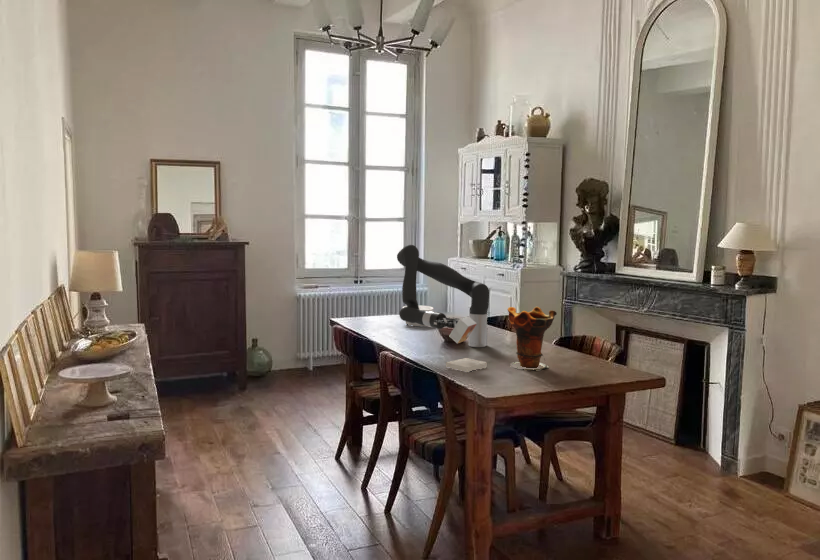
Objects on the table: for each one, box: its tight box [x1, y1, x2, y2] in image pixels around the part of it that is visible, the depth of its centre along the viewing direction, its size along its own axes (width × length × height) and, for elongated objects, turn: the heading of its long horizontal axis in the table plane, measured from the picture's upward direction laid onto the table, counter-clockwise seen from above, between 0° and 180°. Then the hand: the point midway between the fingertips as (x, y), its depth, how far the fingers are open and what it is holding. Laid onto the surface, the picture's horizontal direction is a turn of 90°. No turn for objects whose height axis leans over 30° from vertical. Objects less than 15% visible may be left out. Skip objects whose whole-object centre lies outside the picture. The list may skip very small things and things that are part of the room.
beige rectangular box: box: [445, 357, 488, 373], centre depth 295 cm, size 14×12×2 cm
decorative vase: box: [507, 306, 558, 371], centre depth 300 cm, size 21×23×28 cm
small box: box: [448, 315, 477, 345], centre depth 298 cm, size 8×6×10 cm
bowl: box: [401, 304, 434, 327], centre depth 403 cm, size 19×19×11 cm
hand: (460, 324), depth 298 cm, fingers closed on small box, 8 cm apart
